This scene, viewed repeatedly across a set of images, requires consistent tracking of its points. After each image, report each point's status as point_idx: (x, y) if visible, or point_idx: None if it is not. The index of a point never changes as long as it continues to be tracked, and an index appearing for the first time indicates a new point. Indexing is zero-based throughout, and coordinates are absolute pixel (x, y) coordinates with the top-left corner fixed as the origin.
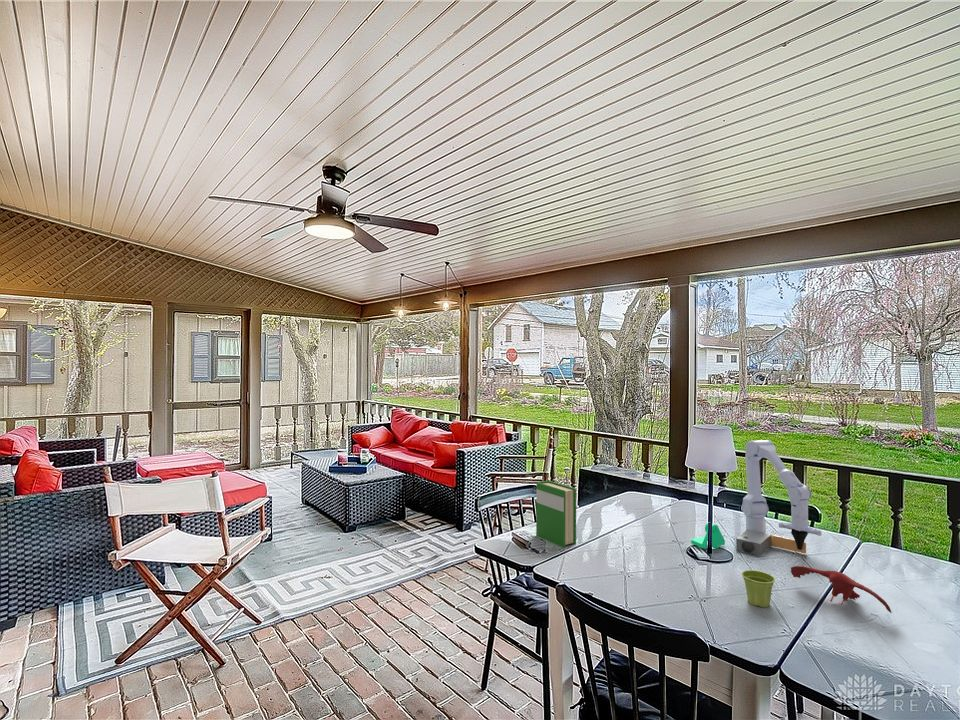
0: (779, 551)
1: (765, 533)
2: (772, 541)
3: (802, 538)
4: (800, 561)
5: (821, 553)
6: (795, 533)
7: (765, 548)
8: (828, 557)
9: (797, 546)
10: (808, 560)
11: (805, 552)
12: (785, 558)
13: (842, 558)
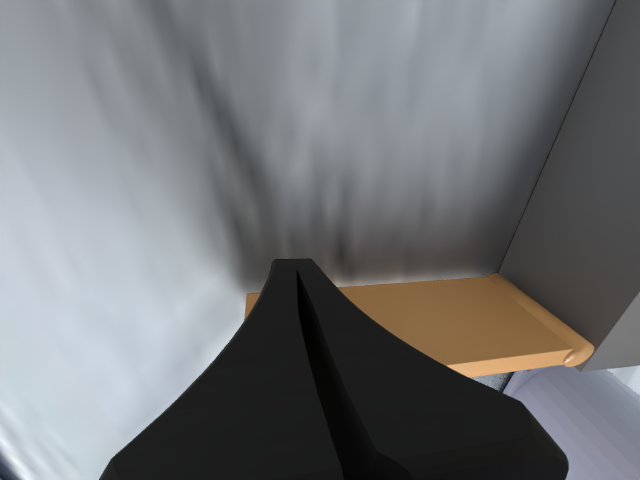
0: (443, 216)
1: (628, 357)
2: (526, 300)
3: (233, 377)
4: (238, 23)
5: (168, 392)
6: (457, 454)
7: (596, 121)
8: (90, 354)
9: (316, 269)
10: (180, 142)
11: (249, 300)
12: (400, 14)
13: (6, 404)
